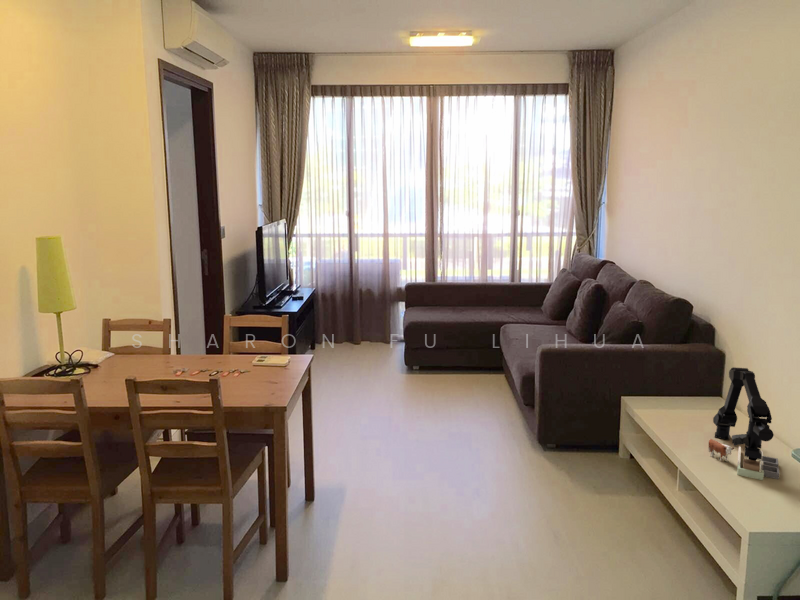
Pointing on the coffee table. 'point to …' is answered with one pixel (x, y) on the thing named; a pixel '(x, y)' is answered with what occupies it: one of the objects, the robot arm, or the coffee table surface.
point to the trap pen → (767, 468)
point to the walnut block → (751, 465)
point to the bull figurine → (719, 449)
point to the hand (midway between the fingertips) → (750, 465)
